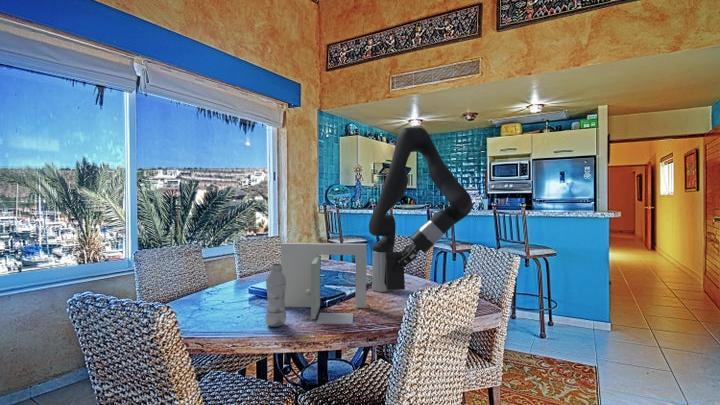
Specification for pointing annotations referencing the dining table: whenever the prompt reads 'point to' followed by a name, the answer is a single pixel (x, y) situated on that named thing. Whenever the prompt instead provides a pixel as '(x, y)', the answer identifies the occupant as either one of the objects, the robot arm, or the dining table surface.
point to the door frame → (319, 277)
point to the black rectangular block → (390, 278)
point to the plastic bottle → (276, 296)
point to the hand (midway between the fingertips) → (391, 270)
